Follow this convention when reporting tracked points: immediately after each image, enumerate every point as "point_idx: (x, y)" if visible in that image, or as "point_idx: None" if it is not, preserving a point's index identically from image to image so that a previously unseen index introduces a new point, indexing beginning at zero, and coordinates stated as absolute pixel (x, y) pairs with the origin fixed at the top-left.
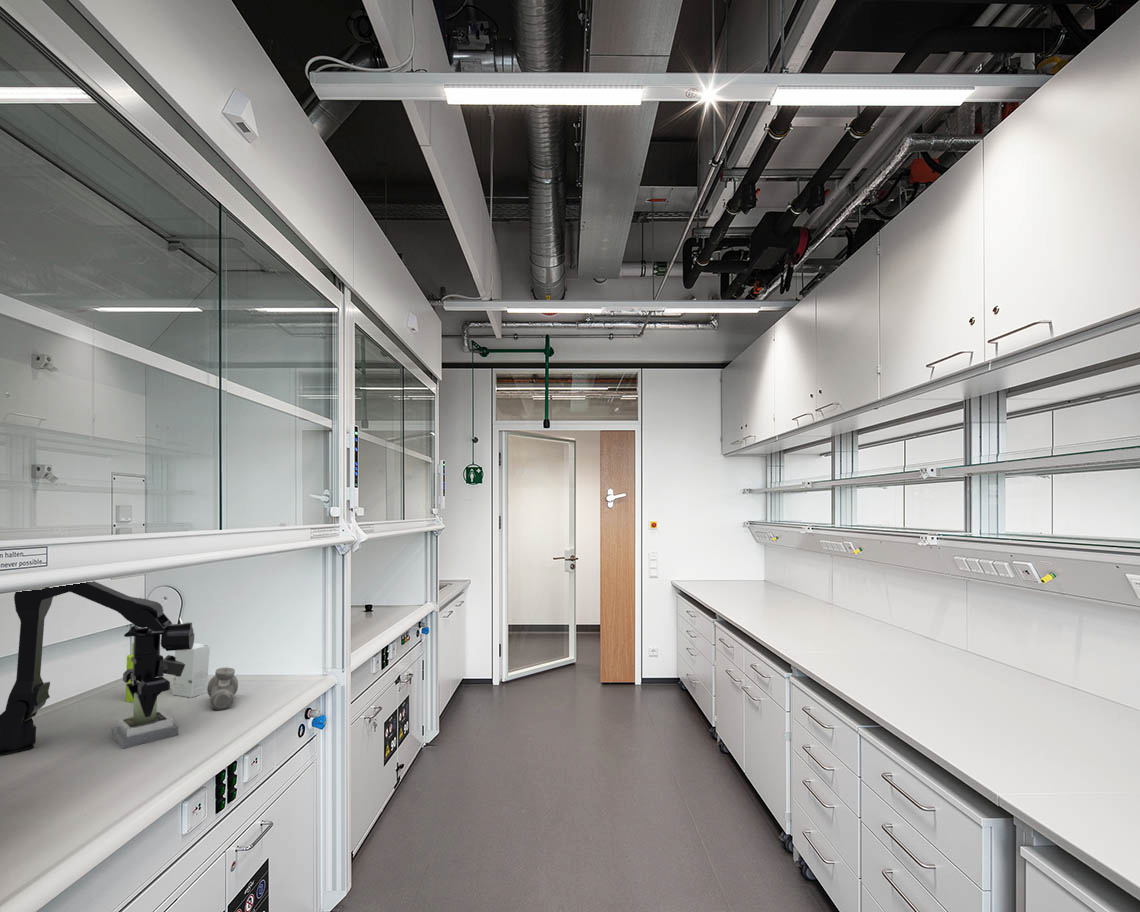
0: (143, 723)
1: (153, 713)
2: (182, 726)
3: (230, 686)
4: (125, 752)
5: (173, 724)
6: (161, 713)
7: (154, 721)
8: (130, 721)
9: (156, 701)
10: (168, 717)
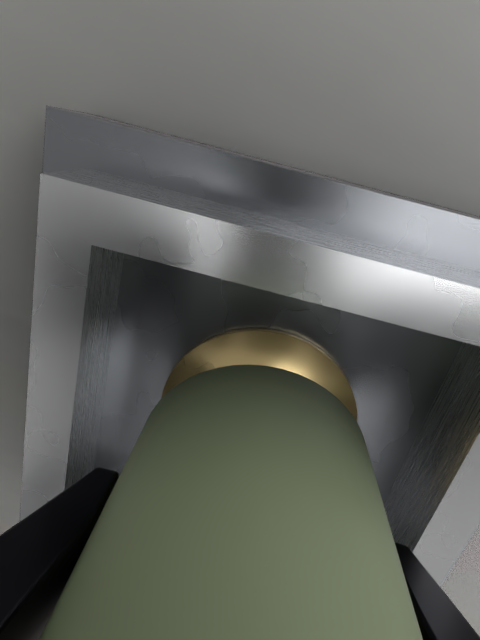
0: (126, 365)
1: (383, 509)
2: (353, 54)
3: None
4: (462, 586)
5: (464, 234)
6: (200, 263)
7: (159, 283)
8: (77, 474)
9: (389, 628)
10: (471, 315)
